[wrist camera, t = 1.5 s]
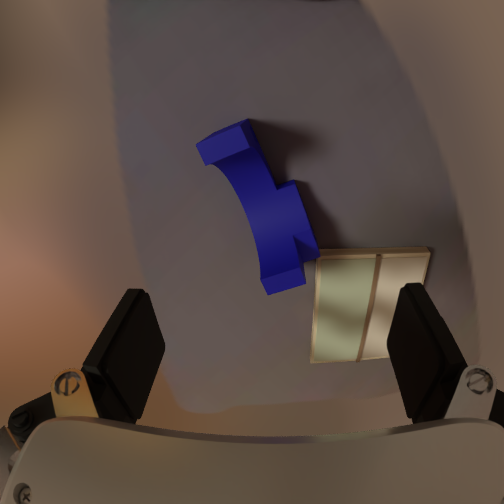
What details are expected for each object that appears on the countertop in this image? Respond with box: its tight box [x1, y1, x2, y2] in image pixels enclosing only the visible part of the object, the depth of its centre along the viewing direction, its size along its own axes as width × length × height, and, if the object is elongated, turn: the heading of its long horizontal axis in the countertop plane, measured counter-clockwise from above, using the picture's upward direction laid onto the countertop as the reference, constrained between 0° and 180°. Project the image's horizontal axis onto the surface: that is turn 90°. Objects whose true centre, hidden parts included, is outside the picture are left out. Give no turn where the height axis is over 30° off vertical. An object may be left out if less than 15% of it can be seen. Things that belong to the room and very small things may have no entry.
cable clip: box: [196, 118, 321, 295], centre depth 23 cm, size 12×4×6 cm, turn 23°
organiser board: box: [310, 247, 431, 363], centre depth 30 cm, size 14×11×2 cm
